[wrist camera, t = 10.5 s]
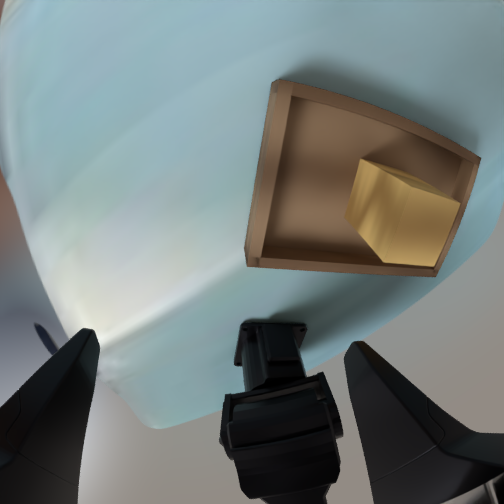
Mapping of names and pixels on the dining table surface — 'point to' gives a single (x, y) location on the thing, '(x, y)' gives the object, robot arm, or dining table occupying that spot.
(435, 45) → the dining table surface
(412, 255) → the ochre block
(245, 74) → the dining table surface
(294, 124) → the walnut tray
